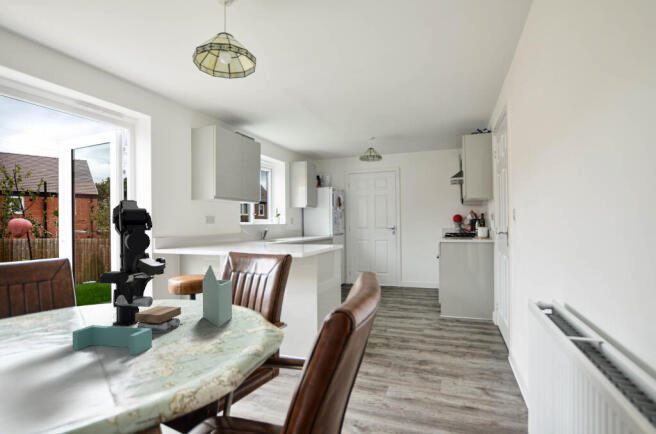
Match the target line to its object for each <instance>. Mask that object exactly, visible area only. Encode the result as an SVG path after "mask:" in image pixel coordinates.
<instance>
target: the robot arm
mask: <svg viewBox="0 0 656 434" xmlns="http://www.w3.org/2000/svg"><path fill="white" fill-rule="evenodd" d="M111 217H112V219H111V221H112V224H113V225H114V231H115V232H116V234H118V236H119V250H120V251H119V258H120V260H119V261H120V265H119V266H120V268H119V271H118V270H115V271H114V270H112V271H106V272H102V273H101V274H100V276H99V284H111V285H112V284H114V285H115V289H113V291H112V292H113V293H112V306H113V308H116V309H115V312H116V314H115V315H116V317H115V319H116V321H114V322H112V325H116V326H117V325H120V326H121V325H122V326H129V325H132V324H134V323H136V322H135V314H136V313H139V312H140V308H139V306H119V305H117V303H116V300H117V298H118V297H119V296H120V295H123V296H124V297H125V299H126V301H127V303H128V304H132V301H133V296H145V295H144V294H145V290H146V288H147V285H148V283H149V282H150V281H152V280H153V279H154V278H155V276H159V275H163V274H164V273H165V269H166V265H167V263H166V258H165V257H162V256H161V257H157V258H156V259H155V258H154V259H152V258H151V257H150V254H149V252H146V250H148V248H149V247H150V246H151V239H150V236H149V235H148V234H147V233H146V231H151V230H152V228H153V219H152V216H151V215H150V212H149V211H147V208H144V207H143V208H142V207H139V206H138V203H137V200H133V199H122V200H119V203H118V204H117V206H116V205H115V207H113V209H112V216H111Z"/></svg>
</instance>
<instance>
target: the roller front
mask: <svg viewBox="0 0 656 434" xmlns="http://www.w3.org/2000/svg"><path fill="white" fill-rule="evenodd" d="M136 328H149V329H152V331H163V332H165V333H167V332H169V331H170V330H171V329H170V328H171V324H170V323H169V322H161V323H151V322H137V325H136Z"/></svg>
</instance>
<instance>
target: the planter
mask: <svg viewBox="0 0 656 434" xmlns="http://www.w3.org/2000/svg"><path fill="white" fill-rule="evenodd" d="M232 282H233V281H232V280H231V279H217V277H216V274H215V272H214V269H213V265H211V264H210V265H209V266H208V268H207V270H206V272H205V274H204V276H203V278H202V318H204V319H206V320H207V321H209V322H210V323H211V324H213V325H214V326H216V327H218V328H220V327H222V326H224V324H226V323H227V322H229V321H230V320H232V318H233V287H232V286H233V285H232V284H233V283H232Z"/></svg>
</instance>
